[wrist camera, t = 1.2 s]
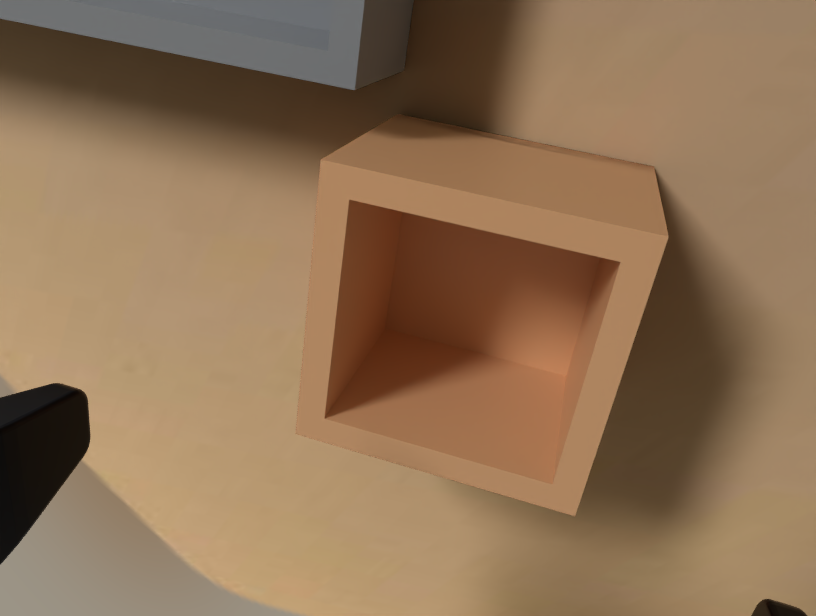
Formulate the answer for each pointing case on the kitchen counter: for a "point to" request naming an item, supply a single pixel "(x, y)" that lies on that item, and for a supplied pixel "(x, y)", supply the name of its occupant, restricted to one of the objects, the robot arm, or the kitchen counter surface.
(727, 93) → the kitchen counter surface
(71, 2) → the grey square tray
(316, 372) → the small crate
